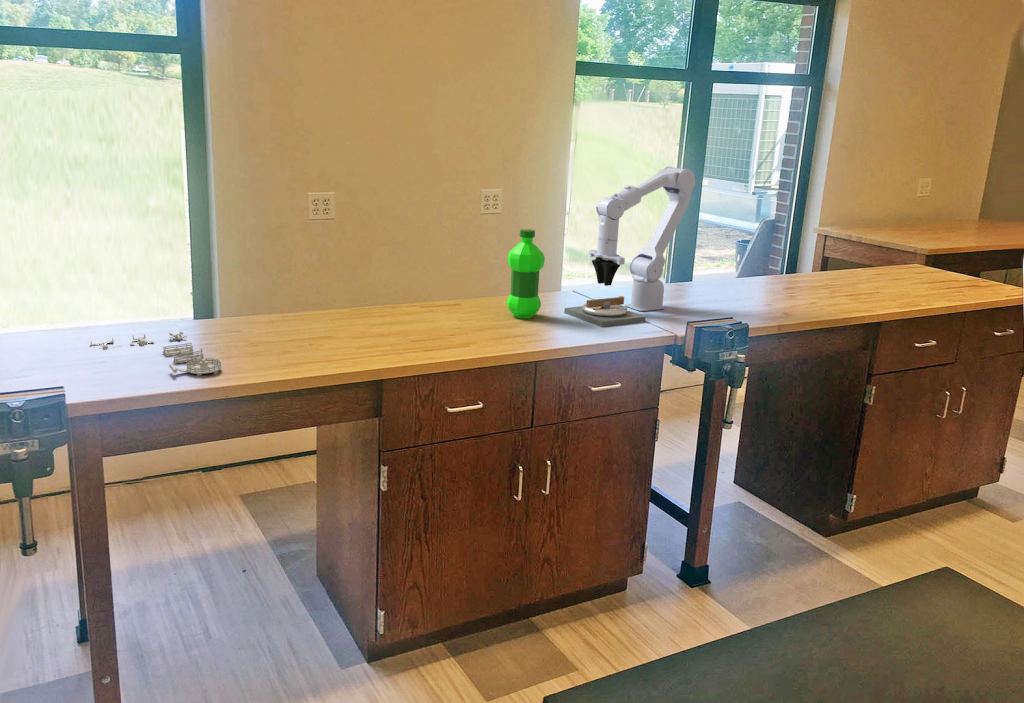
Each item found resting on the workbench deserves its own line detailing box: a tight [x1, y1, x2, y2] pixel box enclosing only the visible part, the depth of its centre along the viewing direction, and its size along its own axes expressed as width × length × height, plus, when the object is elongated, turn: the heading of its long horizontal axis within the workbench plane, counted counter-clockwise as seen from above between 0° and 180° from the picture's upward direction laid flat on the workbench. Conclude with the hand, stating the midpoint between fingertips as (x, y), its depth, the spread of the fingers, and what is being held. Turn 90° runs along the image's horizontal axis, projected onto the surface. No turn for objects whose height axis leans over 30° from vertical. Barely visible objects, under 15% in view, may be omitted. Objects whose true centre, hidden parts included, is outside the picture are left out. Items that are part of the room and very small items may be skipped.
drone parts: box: [90, 330, 223, 377], centre depth 199 cm, size 23×35×3 cm, turn 32°
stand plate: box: [563, 305, 646, 328], centre depth 259 cm, size 16×18×2 cm
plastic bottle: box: [506, 228, 545, 319], centre depth 252 cm, size 10×10×25 cm
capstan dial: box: [582, 295, 628, 317], centre depth 258 cm, size 13×13×4 cm
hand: (604, 284), depth 263 cm, fingers open, 3 cm apart
